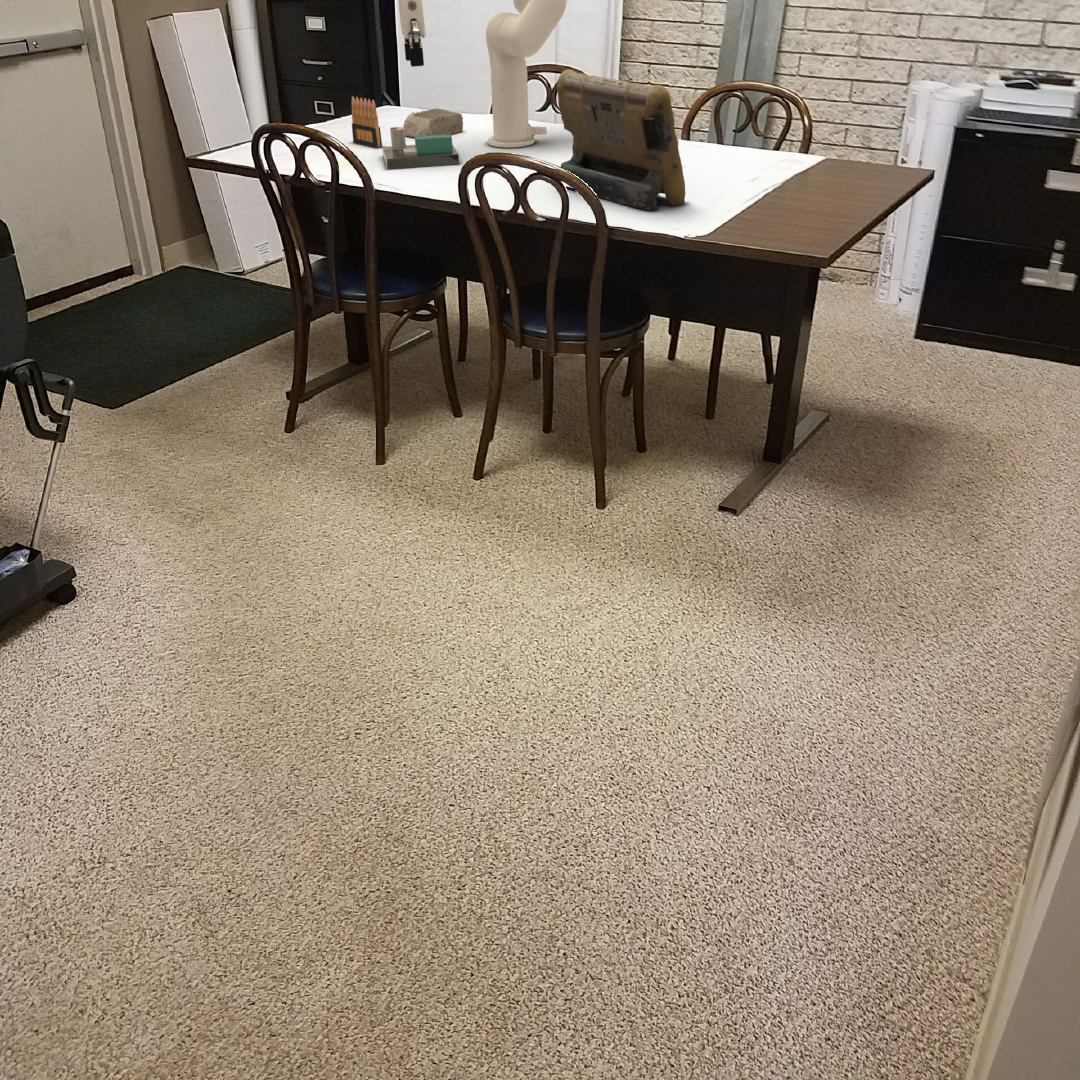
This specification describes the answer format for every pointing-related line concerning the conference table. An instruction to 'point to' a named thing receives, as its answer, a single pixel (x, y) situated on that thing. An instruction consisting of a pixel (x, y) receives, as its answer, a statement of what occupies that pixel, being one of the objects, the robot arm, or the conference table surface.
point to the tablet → (622, 139)
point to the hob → (417, 158)
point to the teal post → (430, 145)
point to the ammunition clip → (365, 123)
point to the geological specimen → (433, 123)
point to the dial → (398, 138)
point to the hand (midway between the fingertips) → (414, 63)
